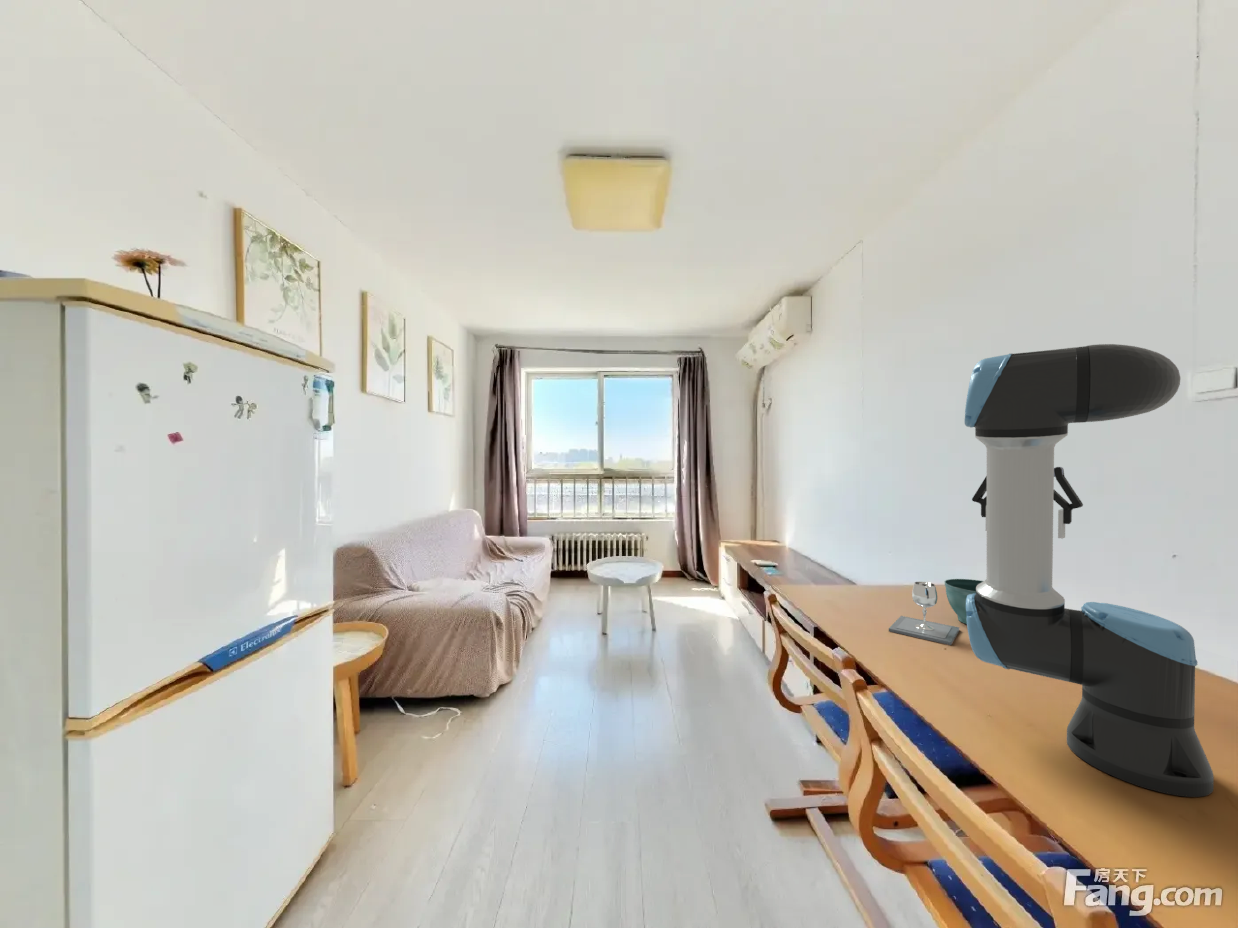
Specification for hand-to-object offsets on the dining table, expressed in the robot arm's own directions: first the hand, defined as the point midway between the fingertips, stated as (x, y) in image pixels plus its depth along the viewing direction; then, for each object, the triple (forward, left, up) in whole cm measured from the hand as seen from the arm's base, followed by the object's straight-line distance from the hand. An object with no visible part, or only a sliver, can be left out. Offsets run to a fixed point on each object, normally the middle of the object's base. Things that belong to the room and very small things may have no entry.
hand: (1023, 534), depth 113 cm
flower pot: (+15, +13, -29) cm, 35 cm away
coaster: (-4, +20, -29) cm, 35 cm away
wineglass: (-4, +20, -28) cm, 35 cm away
